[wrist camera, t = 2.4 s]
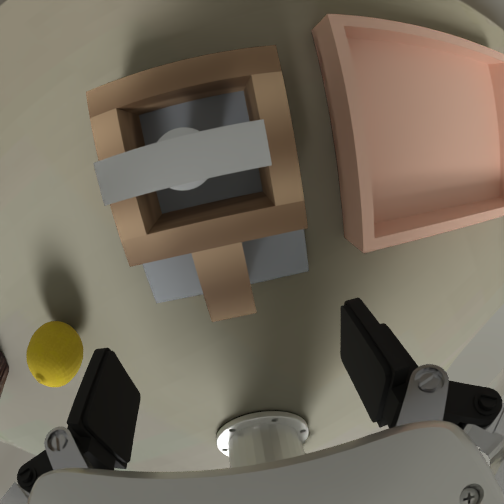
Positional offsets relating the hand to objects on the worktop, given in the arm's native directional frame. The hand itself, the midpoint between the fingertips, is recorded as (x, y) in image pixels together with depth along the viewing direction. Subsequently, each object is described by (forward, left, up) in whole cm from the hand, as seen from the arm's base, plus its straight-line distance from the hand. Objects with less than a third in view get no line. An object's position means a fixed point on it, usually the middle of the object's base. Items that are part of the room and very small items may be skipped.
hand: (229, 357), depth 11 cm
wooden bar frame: (+4, -3, -12) cm, 13 cm away
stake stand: (+4, -3, -14) cm, 14 cm away
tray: (-7, -22, -14) cm, 27 cm away
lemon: (+6, +18, -14) cm, 23 cm away
